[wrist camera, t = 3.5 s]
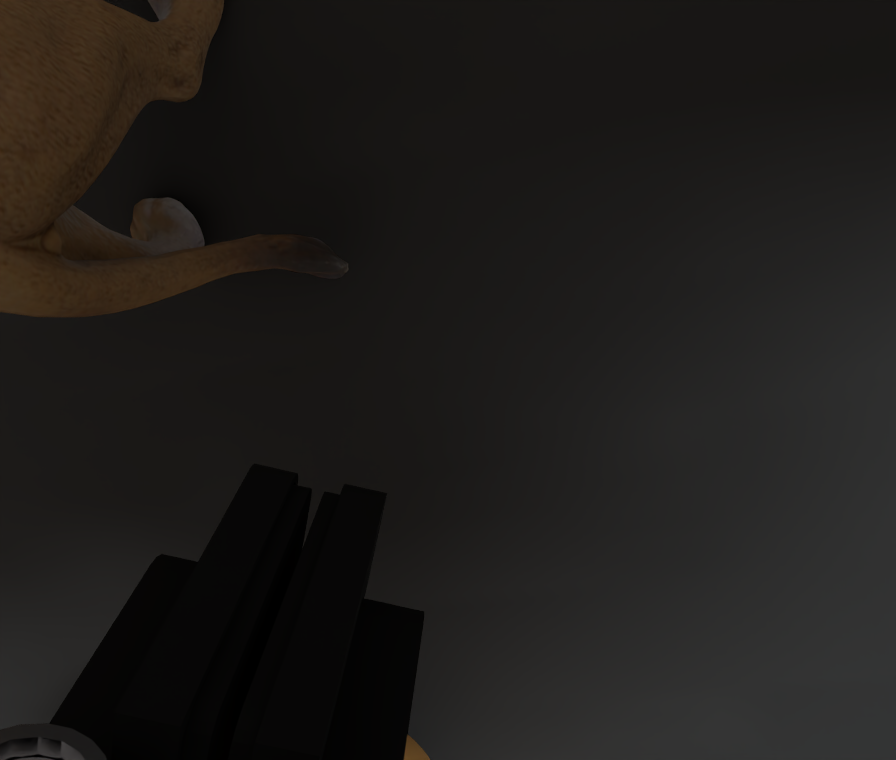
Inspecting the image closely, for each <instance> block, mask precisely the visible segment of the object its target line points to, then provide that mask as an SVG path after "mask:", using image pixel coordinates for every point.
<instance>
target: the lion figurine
mask: <svg viewBox="0 0 896 760" xmlns="http://www.w3.org/2000/svg"><path fill="white" fill-rule="evenodd" d="M148 2H149V3H150V5H151V7H152V8H153V10H154V12H155V13H156V15H157V17H158V19H159V21H158V22H149V21H147V20H145V19H143V18H141V17H139V16H137V15H135V14H132V13H130V12H128V11H126V10H123V9H121V8H119V7H117V6H114V5H112V4H110V3H107V2H105V1H103V0H0V312H4V313H11V314H19V315H26V316H33V317H89V316H97V315H104V314H111V313H117V312H121V311H125V310H129V309H133V308H137V307H141V306H144V305H147V304H151V303H154V302H157V301H160V300H163V299H165V298H168V297H171V296H174V295H177V294H180V293H182V292H185V291H188V290H191V289H193V288H196V287H199V286H201V285H203V284H205V283H208V282H210V281H212V280H216V279H219V278H222V277H225V276H229V275H232V274H236V273H243V272H251V271H260V270H266V269H271V268H277V269H286V270H289V271H292V272H297V273H308V274H311V275H314V276H317V277H320V278H328V279H337V278H342V277H343V275H344V274H345V273H346V272H347V271H348V263H347V262H346V261H344V260H342V259H341V258H340V257H339V256H337V255H336V254H335V253H334V252H333V251H332V249H331V248H330V247H329V246H328V245H327V244H325V243H324V242H323V241H321V240H319V239H317V238H314V237H306V236H302V235H296V234H280V235H265V234H257V235H253V236H249V237H244V238H240V239H236V240H231V241H225V242H219V243H215V244H211V245H207V246H204V244H205V242H204V237H203V234H202V231H201V228H200V226H199V224H198V222H197V220H196V219H195V217H194V216H193V214H192V213H191V212H190V211H189V210H188V209H187V208H186V207H185V206H184V205H183V204H182V203H181V202H179V201H177V200H175V199H172V198H169V197H166V198H147V199H142V200H141V201H140V202H138V203H137V204H135V206H134V210H133V220H132V223H131V226H130V231H131V236H132V238H130V237H127V236H125V235H122V234H120V233H117V232H115V231H112V230H110V229H108V228H106V227H105V226H103V225H101V224H100V223H98V222H97V221H95V220H94V219H92V218H91V217H90V216H88V215H87V214H85V213H84V212H82V211H81V210H79V209H78V208H76V207H75V206H73V204H74V203H75V202H77V201H78V200H79V199H80V198H81V197H82V196H83V195H84V193H85V192H86V191H87V190H88V189H89V187H90V186H91V185H92V184H93V183H94V182H95V180H96V179H97V178H98V176H99V175H100V174H101V172H102V171H103V170H104V168H105V167H106V166H107V164H108V163H109V161H110V160H111V158H112V157H113V155H114V154H115V152H116V151H117V149H118V147H119V146H120V144H121V142H122V140H123V139H124V137H125V135H126V134H127V132H128V131H129V129H130V127H131V126H132V124H133V122H134V121H135V119H136V117H137V116H138V114H139V113H140V111H141V110H142V109H143V108H144V106H145V105H146V104H148V103H149V102H152V101H155V100H167V101H173V102H184V101H187V100H189V99H192V98H193V97H194V96H195V95H196V94H197V93H198V91H199V88H200V85H201V82H202V75H203V68H204V64H205V59H206V55H207V51H208V48H209V45H210V42H211V40H212V38H213V36H214V34H215V32H216V31H217V29H218V26H219V23H220V20H221V16H222V12H223V8H224V0H148Z"/></svg>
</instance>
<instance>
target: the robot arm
mask: <svg viewBox="0 0 896 760" xmlns="http://www.w3.org/2000/svg"><path fill="white" fill-rule="evenodd" d="M297 484H298V474H297V473H293V472H289V471H284V470H280V469H275V468H271V467H266V466H262V465H257V464H253V465H252V467H251V468H250V470H249V472H248V473H247V475H246V477H245V479H244V481H243V482H242V484H241V486H240V488H239V490H238V491H237V493H236V495H235V497H234V499H233V500H232V502H231V504H230V506H229V508H228V509H227V511H226V513H225V515H224V517H223V518H222V520H221V522H220V524H219V526H218V527H217V529H216V531H215V533H214V535H213V536H212V538H211V540H210V542H209V543H208V545H207V547H206V549H205V551H204V552H203V554H202V556H201V558H200V560H199V561H198V562H195V561H191V560H186V559H182V558H177V557H173V556H168V555H164V554H161V555H160V556H158V557H156V559H155V560H154V561H153V562H152V564H151V565H150V566H149V568H148V570H147V571H146V573H145V574H144V576H143V577H142V579H141V581H140V582H139V584H138V585H137V587H136V588H135V590H134V592H133V593H132V595H131V596H130V598H129V599H128V601H127V603H126V604H125V606H124V607H123V609H122V610H121V612H120V614H119V615H118V617H117V618H116V620H115V621H114V623H113V624H112V626H111V628H110V629H109V631H108V632H107V634H106V635H105V637H104V639H103V640H102V642H101V643H100V645H99V646H98V648H97V650H96V651H95V653H94V654H93V656H92V657H91V659H90V661H89V662H88V664H87V665H86V667H85V668H84V670H83V672H82V673H81V675H80V676H79V678H78V679H77V681H76V682H75V684H74V686H73V687H72V689H71V690H70V692H69V693H68V695H67V697H66V698H65V700H64V701H63V703H62V704H61V706H60V708H59V709H58V711H57V712H56V714H55V715H54V717H53V719H52V720H51V722H50V723H49V724H48V723H44V724H20V725H16V726H12V727H8V728H5V729H1V730H0V760H404V755H405V748H406V741H407V734H408V727H409V720H410V713H411V706H412V699H413V692H414V685H415V678H416V671H417V664H418V657H419V650H420V643H421V636H422V629H423V621H424V612H423V611H419V610H414V609H410V608H405V607H400V606H396V605H391V604H387V603H382V602H378V601H373V600H369V599H364V597H365V592H366V587H367V583H368V578H369V574H370V569H371V565H372V560H373V555H374V551H375V546H376V542H377V537H378V533H379V528H380V524H381V519H382V514H383V510H384V505H385V501H386V496H387V493H383V492H379V491H374V490H370V489H365V488H361V487H356V486H352V485H347V484H344V486H343V488H342V491H341V494H340V495H338V494H334V493H329V492H324V494H323V497H322V499H321V502H320V504H319V507H318V510H317V512H316V515H315V518H314V520H313V523H312V525H311V528H310V531H309V533H308V536H307V539H306V541H305V544H304V546H303V541H304V535H305V529H306V524H307V518H308V512H309V506H310V501H311V494H312V489H311V488H307V487H302V486H298V485H297ZM302 546H303V549H302Z"/></svg>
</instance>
